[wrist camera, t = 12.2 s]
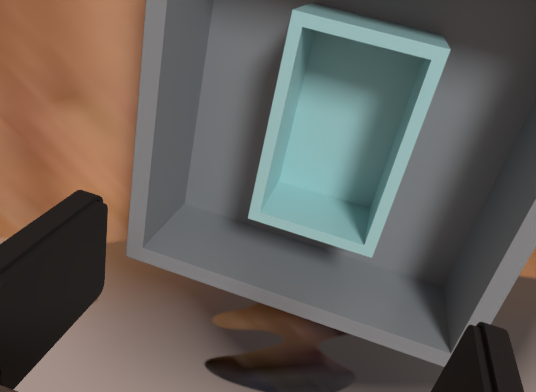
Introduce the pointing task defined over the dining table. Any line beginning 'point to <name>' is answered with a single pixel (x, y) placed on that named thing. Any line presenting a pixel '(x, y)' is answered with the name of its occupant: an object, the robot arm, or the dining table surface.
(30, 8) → the dining table surface
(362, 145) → the small crate
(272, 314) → the dining table surface
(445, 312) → the large crate
